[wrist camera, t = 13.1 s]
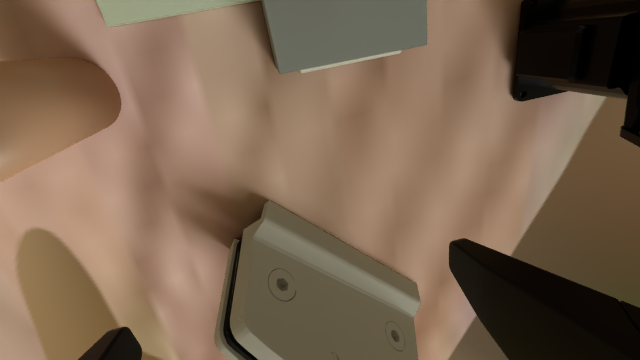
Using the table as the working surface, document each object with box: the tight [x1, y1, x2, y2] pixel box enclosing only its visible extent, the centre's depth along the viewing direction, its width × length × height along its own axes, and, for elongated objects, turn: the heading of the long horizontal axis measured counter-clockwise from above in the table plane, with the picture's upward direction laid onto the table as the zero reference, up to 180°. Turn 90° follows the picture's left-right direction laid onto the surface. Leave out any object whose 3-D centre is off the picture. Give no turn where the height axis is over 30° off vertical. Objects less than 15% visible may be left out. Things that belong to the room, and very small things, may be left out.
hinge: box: [214, 200, 420, 360], centre depth 22 cm, size 17×5×10 cm, turn 52°
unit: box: [261, 0, 427, 74], centre depth 15 cm, size 7×4×6 cm, turn 100°
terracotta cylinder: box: [0, 58, 121, 182], centre depth 13 cm, size 4×4×9 cm
